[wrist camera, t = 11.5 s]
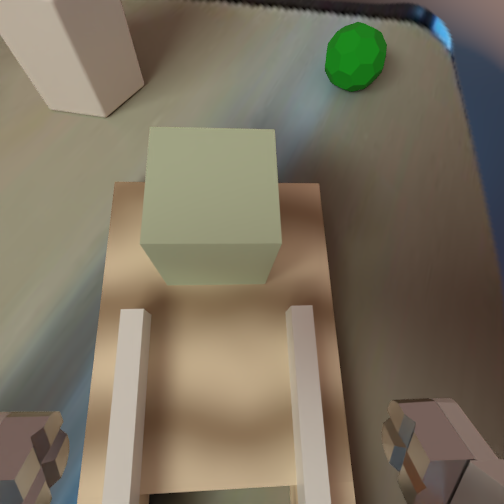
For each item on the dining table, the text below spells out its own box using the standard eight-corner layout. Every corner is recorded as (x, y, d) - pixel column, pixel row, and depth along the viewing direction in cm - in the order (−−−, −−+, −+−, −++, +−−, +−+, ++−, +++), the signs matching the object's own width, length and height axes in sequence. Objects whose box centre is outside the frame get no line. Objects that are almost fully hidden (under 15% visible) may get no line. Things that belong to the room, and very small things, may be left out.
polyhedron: (347, 112, 30) (368, 65, 25) (307, 78, 31) (320, 27, 26) (383, 84, 31) (409, 35, 27) (343, 52, 32) (362, 0, 28)
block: (265, 284, 21) (281, 243, 15) (167, 285, 21) (139, 244, 14) (261, 198, 23) (274, 129, 17) (172, 198, 23) (149, 126, 16)
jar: (155, 51, 30) (113, -139, 19) (133, 124, 28) (69, -49, 16) (54, 36, 30) (-48, -165, 19) (22, 108, 27) (-120, -78, 16)
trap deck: (362, 702, 17) (384, 754, 15) (69, 734, 16) (42, 797, 13) (310, 200, 26) (318, 183, 24) (125, 199, 25) (114, 181, 23)
